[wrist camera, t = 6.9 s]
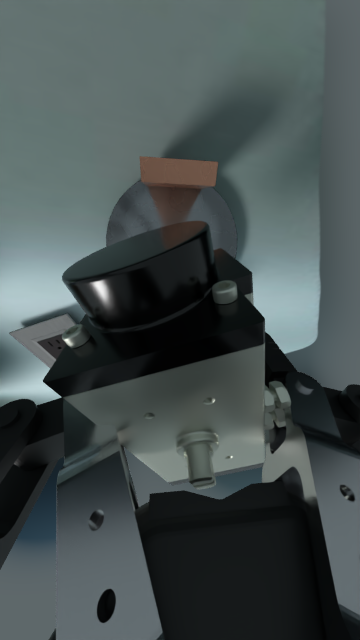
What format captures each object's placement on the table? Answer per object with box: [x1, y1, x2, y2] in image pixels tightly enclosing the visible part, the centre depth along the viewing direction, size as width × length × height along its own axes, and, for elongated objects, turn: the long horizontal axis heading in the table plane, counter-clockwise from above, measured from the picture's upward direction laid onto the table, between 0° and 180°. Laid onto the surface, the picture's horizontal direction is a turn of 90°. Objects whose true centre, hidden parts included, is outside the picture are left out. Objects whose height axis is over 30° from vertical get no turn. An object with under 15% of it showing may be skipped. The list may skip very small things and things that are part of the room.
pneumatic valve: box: [43, 221, 291, 489], centre depth 10 cm, size 6×12×12 cm, turn 16°
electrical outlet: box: [9, 313, 77, 368], centre depth 32 cm, size 13×10×2 cm
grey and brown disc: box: [106, 156, 237, 259], centre depth 21 cm, size 18×17×8 cm
